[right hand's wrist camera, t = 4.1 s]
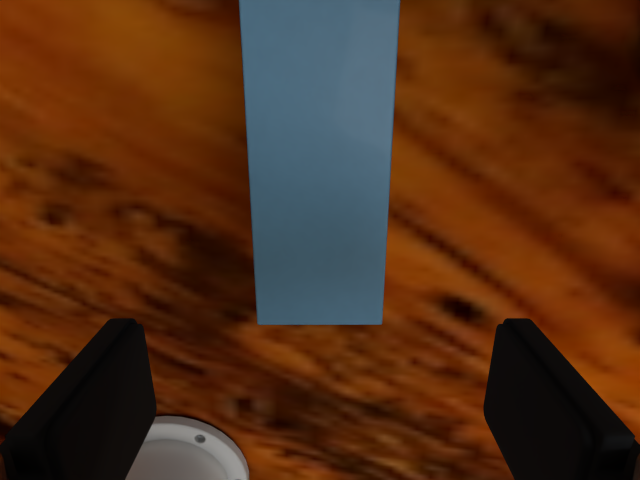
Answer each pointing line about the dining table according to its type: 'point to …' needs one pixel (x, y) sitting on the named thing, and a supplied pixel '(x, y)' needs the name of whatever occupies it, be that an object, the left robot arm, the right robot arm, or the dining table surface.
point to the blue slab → (319, 155)
